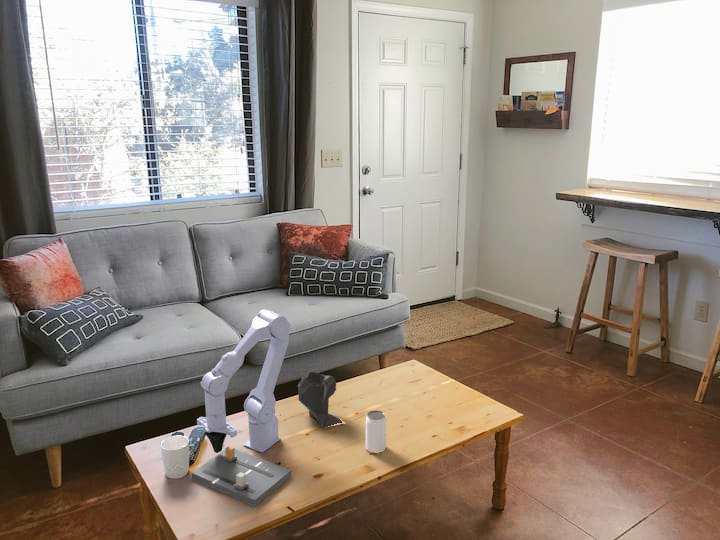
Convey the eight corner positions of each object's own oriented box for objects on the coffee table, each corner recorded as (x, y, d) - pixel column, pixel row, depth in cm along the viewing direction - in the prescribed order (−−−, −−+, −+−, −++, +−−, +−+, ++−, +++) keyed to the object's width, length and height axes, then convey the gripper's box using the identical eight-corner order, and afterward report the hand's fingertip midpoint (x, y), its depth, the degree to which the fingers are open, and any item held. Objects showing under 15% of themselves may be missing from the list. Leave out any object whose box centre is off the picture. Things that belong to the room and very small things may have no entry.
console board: (229, 452, 186) (229, 446, 185) (290, 476, 174) (290, 470, 173) (190, 479, 172) (190, 473, 172) (253, 507, 160) (253, 500, 160)
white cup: (180, 461, 181) (178, 432, 178) (196, 471, 176) (194, 441, 173) (158, 473, 175) (155, 443, 172) (173, 483, 170) (170, 453, 167)
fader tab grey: (240, 481, 167) (240, 470, 167) (248, 484, 166) (248, 473, 165) (233, 486, 165) (233, 475, 164) (242, 490, 164) (241, 479, 163)
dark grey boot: (331, 404, 217) (331, 358, 212) (346, 424, 203) (346, 376, 198) (294, 410, 212) (293, 364, 207) (306, 431, 198) (305, 382, 193)
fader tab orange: (229, 454, 180) (229, 444, 180) (237, 457, 179) (236, 447, 178) (223, 458, 178) (222, 448, 177) (230, 461, 177) (230, 451, 176)
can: (387, 444, 191) (388, 411, 188) (383, 455, 185) (383, 421, 182) (368, 441, 192) (368, 408, 189) (363, 452, 186) (363, 418, 183)
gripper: (188, 410, 177) (191, 450, 181) (224, 423, 170) (226, 464, 174) (205, 400, 183) (208, 439, 187) (240, 413, 176) (242, 453, 180)
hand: (218, 451), depth 181 cm, fingers closed
